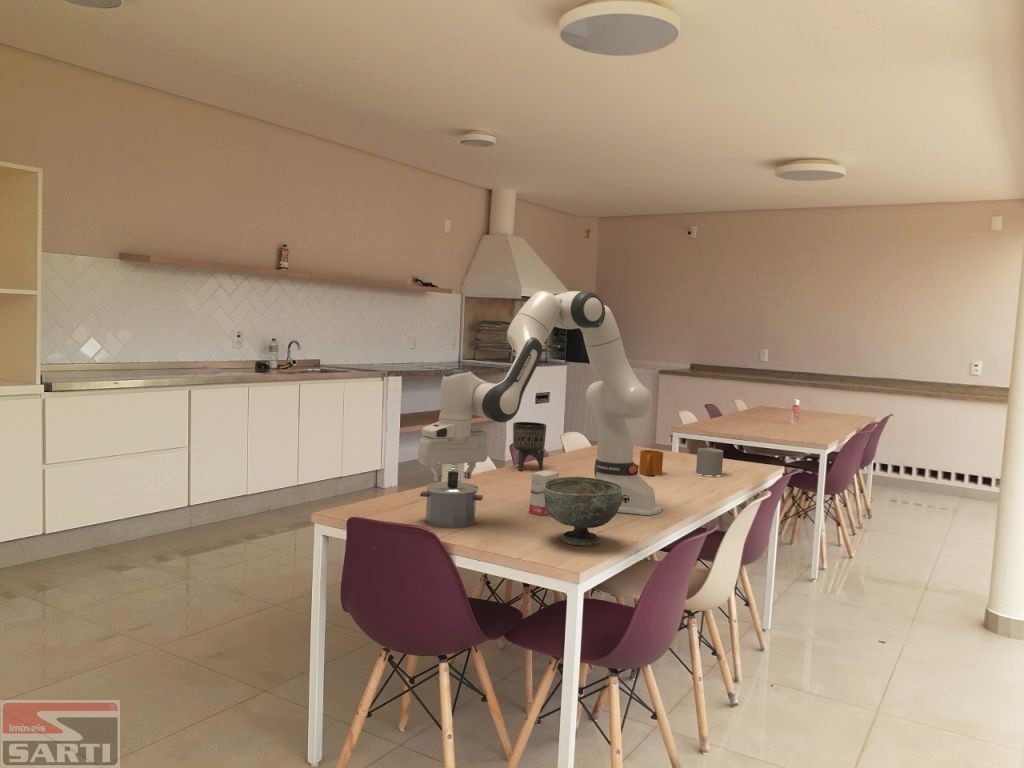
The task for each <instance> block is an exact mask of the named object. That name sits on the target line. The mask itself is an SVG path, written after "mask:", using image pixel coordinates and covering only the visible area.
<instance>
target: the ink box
mask: <svg viewBox="0 0 1024 768" xmlns="http://www.w3.org/2000/svg"><path fill="white" fill-rule="evenodd" d="M556 478H560V472H558V471H553V470H549V469H548V470H547V469H545V470H542V471H541V470H538V471H535V472H533V473H532V474H531V485H530V496H529V509H528V513H529V514H534V515H539V516H545V515H547V514H548V513H547V511H546V509H545V497H544V484H545V483H546V482H547V481H549V480H552V479H556ZM548 515H549V514H548Z"/></svg>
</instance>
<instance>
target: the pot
mask: <svg viewBox="0 0 1024 768" xmlns="http://www.w3.org/2000/svg"><path fill="white" fill-rule="evenodd" d="M419 496H420V497H423V498H426V506H425V507H426V509H425V514H426V515H425V522H426V523H427V524H429V525H430V526H432V527H433V526H434V527H438V528H445V529H446V528H447V529H458V528H461V529H462V528H468V527H472V526H474V524H476V510H477V509H476V508H477V507H476V506H477V501H483V499H484V495H483V494H477V492H476V493H472V494H465V495H448V494H439V493H434V492H430V491H428V490H427V489H426V490H424V491H421V492H420V494H419Z"/></svg>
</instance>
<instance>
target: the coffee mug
mask: <svg viewBox="0 0 1024 768" xmlns="http://www.w3.org/2000/svg"><path fill="white" fill-rule="evenodd" d="M723 462H724V450H723V449H719V448H710V447H709V448H708V447H707V448H706V447H703V448H702V447H699V448H697V454H696V467H695V468H696V469H695V474H696V473H698V474H702V475H712V476H717V475H723Z"/></svg>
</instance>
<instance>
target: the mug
mask: <svg viewBox="0 0 1024 768" xmlns="http://www.w3.org/2000/svg"><path fill="white" fill-rule="evenodd" d="M639 454H640V455H639V468H638V474H639V473H640V474H639V475H642V474H644V475H643V476H647V475H648V476H647V477H650V476H649V475H661V474H663V464H664V463H663V462H664V452H663V451H660V450H653V449H641V450H640V453H639ZM661 476H662V475H661Z"/></svg>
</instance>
